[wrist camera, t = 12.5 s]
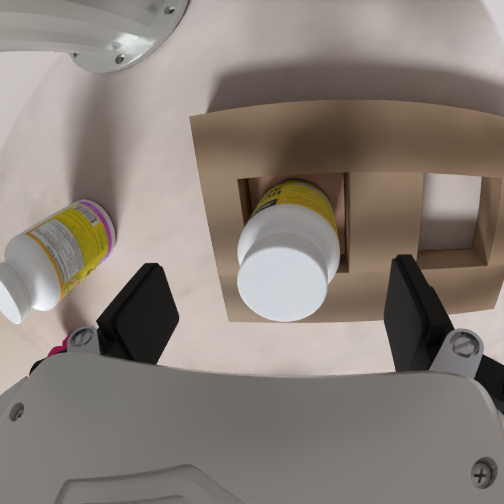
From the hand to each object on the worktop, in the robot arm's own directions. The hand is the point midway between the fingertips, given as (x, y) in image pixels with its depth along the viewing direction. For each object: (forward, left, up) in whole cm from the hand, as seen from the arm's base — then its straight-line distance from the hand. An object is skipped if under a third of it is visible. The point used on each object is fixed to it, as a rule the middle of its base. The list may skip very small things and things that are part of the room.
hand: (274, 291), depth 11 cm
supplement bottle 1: (+1, -20, -11) cm, 23 cm away
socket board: (+1, +6, -11) cm, 13 cm away
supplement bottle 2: (+1, 0, -11) cm, 11 cm away
